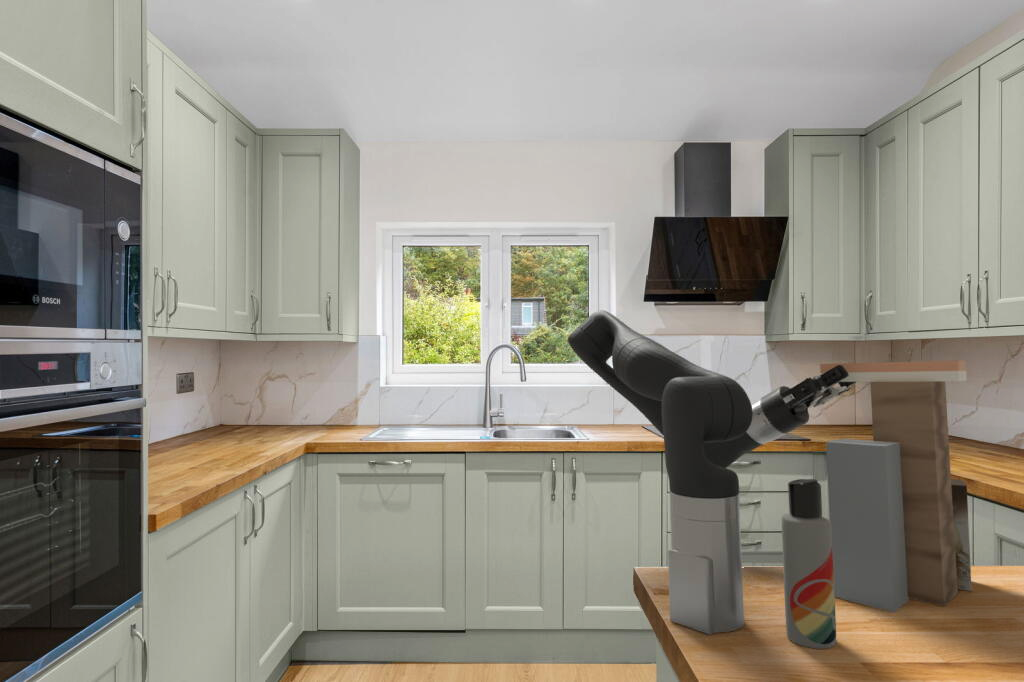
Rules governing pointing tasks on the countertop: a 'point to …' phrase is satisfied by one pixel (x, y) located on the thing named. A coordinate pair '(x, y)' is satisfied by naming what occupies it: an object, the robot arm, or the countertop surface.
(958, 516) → the coffee box
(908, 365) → the bar
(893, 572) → the grey stand
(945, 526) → the walnut stand
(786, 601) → the lotion bottle
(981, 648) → the countertop surface
